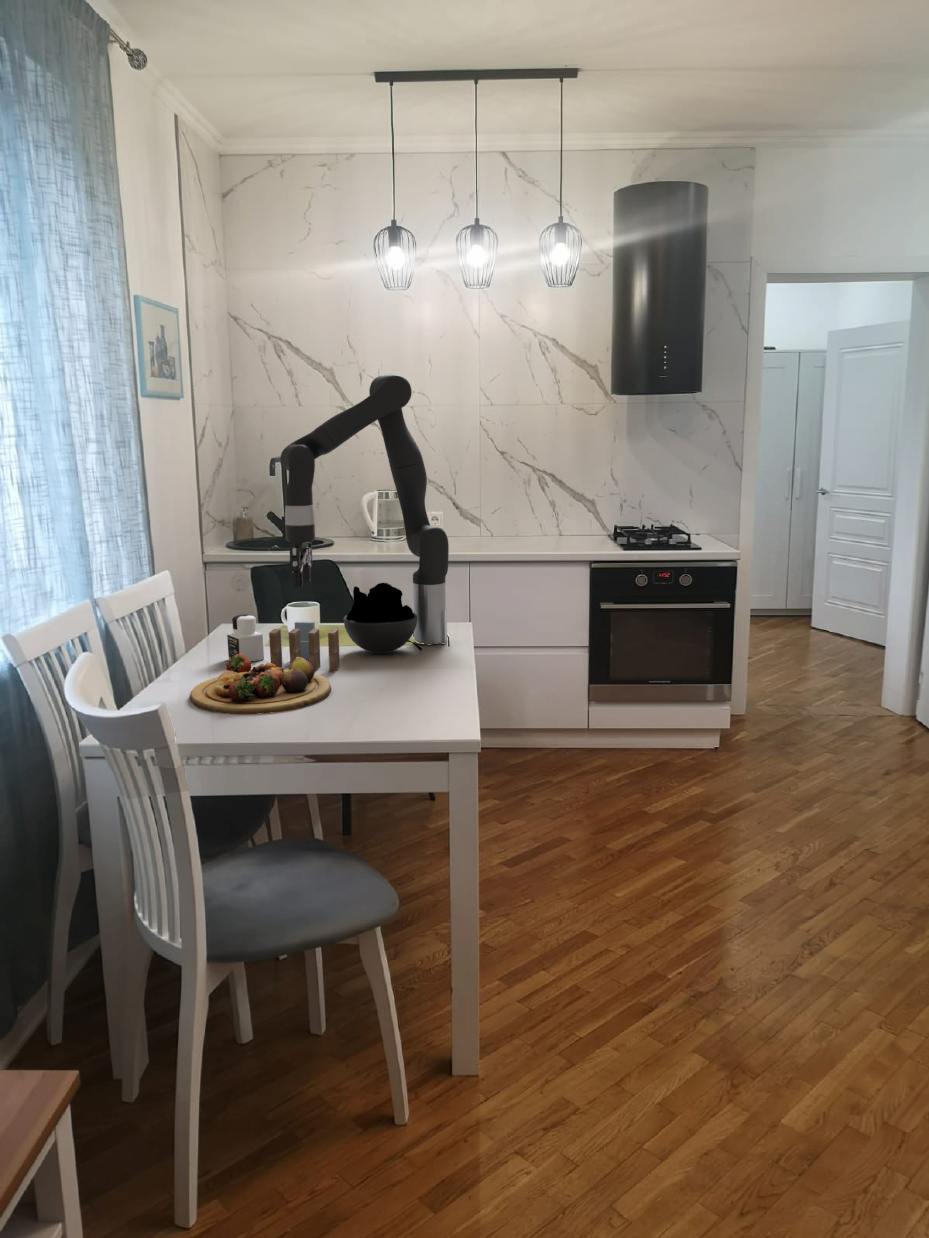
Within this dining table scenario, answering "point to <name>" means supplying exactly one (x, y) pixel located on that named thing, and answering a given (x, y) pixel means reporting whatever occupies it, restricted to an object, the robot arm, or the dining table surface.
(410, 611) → the bowl of black rocks
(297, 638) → the tile
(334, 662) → the tile
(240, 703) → the wooden plate with food
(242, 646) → the medicine bottle
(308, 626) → the tile
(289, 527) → the robot arm
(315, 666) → the tile
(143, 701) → the dining table surface
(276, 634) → the brown wooden block
